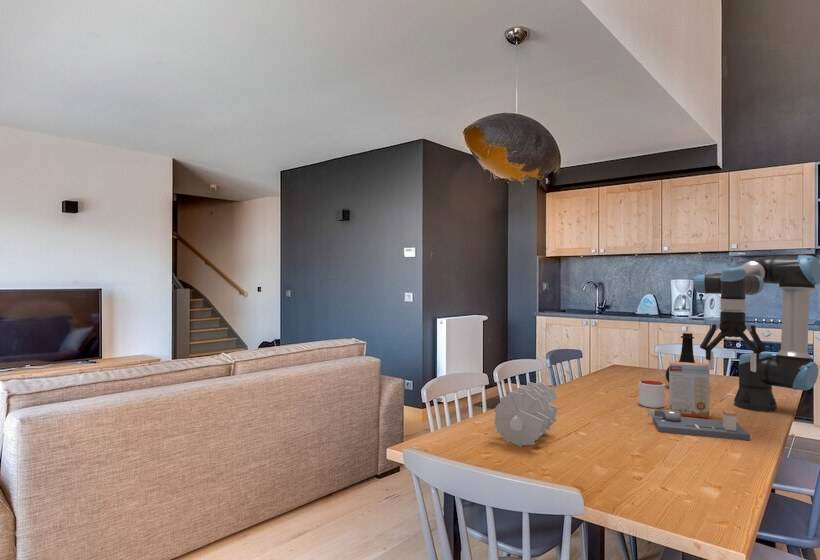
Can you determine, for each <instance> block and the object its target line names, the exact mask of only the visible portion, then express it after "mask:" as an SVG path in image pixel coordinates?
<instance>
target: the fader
mask: <svg viewBox="0 0 820 560" xmlns="http://www.w3.org/2000/svg"><path fill="white" fill-rule="evenodd" d="M737 415H738V414H737V412H735V411H734V410H732V409H731V410H727V409H722V421H723V427H724V428H725V429H726V430H731V431H736V423H737Z"/></svg>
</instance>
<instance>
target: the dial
mask: <svg viewBox="0 0 820 560" xmlns="http://www.w3.org/2000/svg"><path fill="white" fill-rule="evenodd" d="M647 415H648V417H652V416H659V417H663V419H665V420H668V421H675V422H678V421H681V417H682V416H681V412H680V411H678V410H673V409H669V408H665V409H662V410H660V409H653V408H650V409H649V408H648V410H647Z"/></svg>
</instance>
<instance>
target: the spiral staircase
mask: <svg viewBox="0 0 820 560" xmlns="http://www.w3.org/2000/svg"><path fill="white" fill-rule="evenodd" d="M558 399H559V396H558V394H557V392H556V390H555V388H554V387H551V388H550V387H548V385H546V384H545V383H544V382H542V381H540V382H539V383H535V382H531V381H527V384H526V385H520V387H517V389H516V390H513V391H512V390H511V391H510V392H509V391H508V392H507V395H505V396H502V397H499V401H500V402H498V404H497V405H496V406H495V408H494V409H493V411H494V413H495V414H494V415H495V416H494V423H493V424H494V425H495V427H496V432H497V433H499V434H500V435H501V437H502V438H503V439H504V440H505V441H506V443H507V444H508V443H511V444H514V445H516V446H517V447H520V448H522V447H523V446H529V445H530V446H534V445H535V441H538V440H539V438H540V437H541V436H542V435H546V434H548V431H550V430H551V426H552V425H553V424H555V423H556V422H557V421H558V418H557V417H556V416H557V414H558V410H559V407H558V406H556V405H553V404H551V402H554V401H555V400H558Z"/></svg>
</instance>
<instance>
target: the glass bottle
mask: <svg viewBox="0 0 820 560" xmlns="http://www.w3.org/2000/svg"><path fill="white" fill-rule="evenodd" d="M680 338H682V343H681V352H680V357H679V359H678V362H687V363H696V362H695V356H694V345H693V344H694V343H693V339H695V337H694V336H693V333H691V332H690V333H689V332H683V333H682V335H681V336H680ZM665 378H666V381H667V383H668V384H669V366H668V367H667V369H666V371H665Z"/></svg>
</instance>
